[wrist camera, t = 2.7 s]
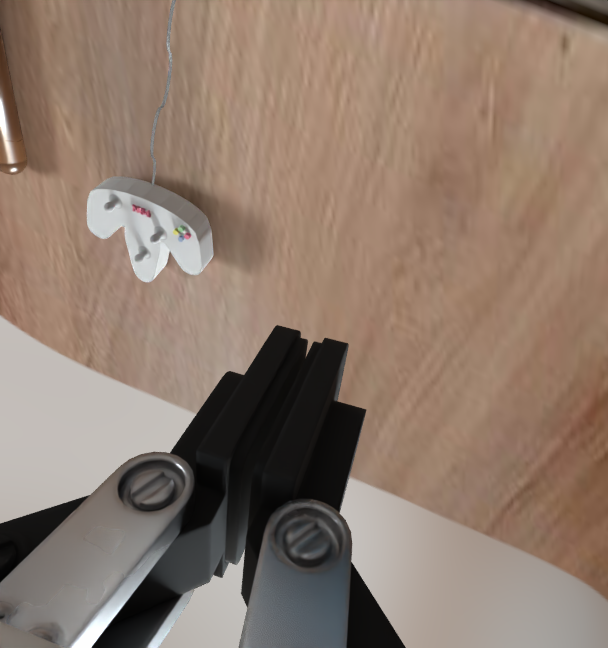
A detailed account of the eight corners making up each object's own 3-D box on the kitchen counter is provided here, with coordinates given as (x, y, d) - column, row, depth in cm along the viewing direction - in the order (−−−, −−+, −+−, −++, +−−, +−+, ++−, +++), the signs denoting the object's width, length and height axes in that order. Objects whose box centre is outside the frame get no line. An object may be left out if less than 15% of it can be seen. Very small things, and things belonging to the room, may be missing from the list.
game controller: (121, 267, 25) (89, 291, 23) (53, -2, 19) (2, -3, 17) (224, 278, 24) (199, 304, 22) (185, -11, 18) (145, -13, 16)
